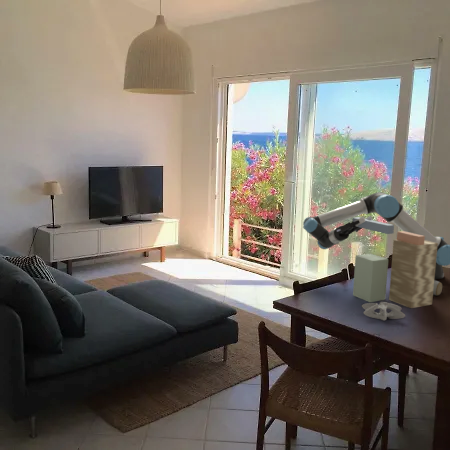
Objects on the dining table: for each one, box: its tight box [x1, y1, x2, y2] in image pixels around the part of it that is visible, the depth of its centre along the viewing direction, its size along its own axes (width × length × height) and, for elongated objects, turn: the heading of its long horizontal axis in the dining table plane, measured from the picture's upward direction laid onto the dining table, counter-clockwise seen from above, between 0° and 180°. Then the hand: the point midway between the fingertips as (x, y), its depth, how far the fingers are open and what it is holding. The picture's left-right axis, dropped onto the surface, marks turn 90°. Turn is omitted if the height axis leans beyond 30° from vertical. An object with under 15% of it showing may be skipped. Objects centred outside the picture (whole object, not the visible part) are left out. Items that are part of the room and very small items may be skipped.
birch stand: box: [388, 239, 438, 309], centre depth 253 cm, size 14×14×30 cm
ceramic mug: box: [433, 279, 443, 296], centre depth 270 cm, size 11×8×8 cm
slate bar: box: [351, 216, 395, 235], centre depth 256 cm, size 24×4×4 cm, turn 28°
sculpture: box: [361, 301, 406, 321], centre depth 233 cm, size 18×20×6 cm
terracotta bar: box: [396, 230, 425, 245], centre depth 248 cm, size 13×4×4 cm, turn 28°
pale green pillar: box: [352, 253, 389, 303], centre depth 259 cm, size 12×10×20 cm
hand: (367, 218), depth 258 cm, fingers closed on slate bar, 4 cm apart
